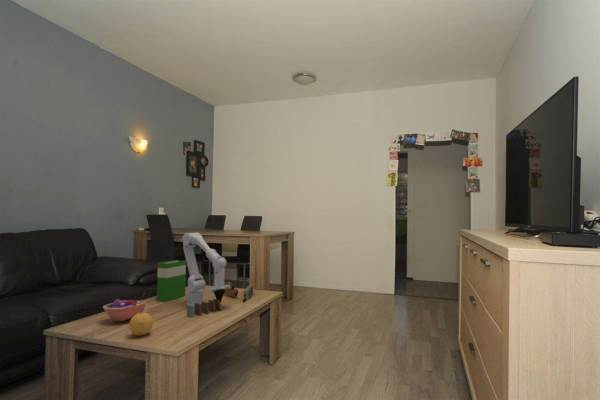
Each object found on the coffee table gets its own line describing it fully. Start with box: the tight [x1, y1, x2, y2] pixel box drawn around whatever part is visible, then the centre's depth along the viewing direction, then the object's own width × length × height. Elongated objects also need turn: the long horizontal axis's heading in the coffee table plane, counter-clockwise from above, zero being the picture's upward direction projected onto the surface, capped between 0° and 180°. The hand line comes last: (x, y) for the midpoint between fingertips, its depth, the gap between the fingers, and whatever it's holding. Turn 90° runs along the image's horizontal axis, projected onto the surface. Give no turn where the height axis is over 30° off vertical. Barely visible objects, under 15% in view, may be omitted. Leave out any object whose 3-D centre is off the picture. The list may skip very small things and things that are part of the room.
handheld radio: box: [242, 284, 254, 303], centre depth 231 cm, size 7×3×25 cm
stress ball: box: [128, 311, 154, 337], centre depth 159 cm, size 10×10×10 cm
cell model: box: [102, 298, 146, 322], centre depth 181 cm, size 17×20×11 cm
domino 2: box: [194, 303, 202, 317], centre depth 191 cm, size 1×5×6 cm, turn 49°
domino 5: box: [212, 298, 223, 312], centre depth 201 cm, size 1×5×6 cm, turn 50°
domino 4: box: [207, 299, 216, 313], centre depth 198 cm, size 1×5×6 cm, turn 49°
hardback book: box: [156, 259, 187, 303], centre depth 228 cm, size 18×7×24 cm, turn 158°
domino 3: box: [201, 300, 209, 315], centre depth 195 cm, size 1×5×6 cm, turn 49°
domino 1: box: [186, 304, 195, 318], centre depth 188 cm, size 1×5×6 cm, turn 50°
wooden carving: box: [224, 281, 239, 298], centre depth 234 cm, size 16×5×10 cm, turn 49°
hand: (219, 302), depth 202 cm, fingers closed
